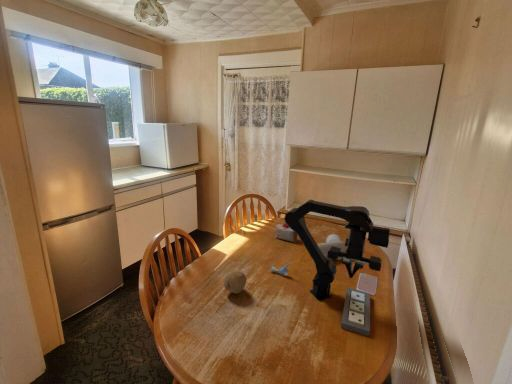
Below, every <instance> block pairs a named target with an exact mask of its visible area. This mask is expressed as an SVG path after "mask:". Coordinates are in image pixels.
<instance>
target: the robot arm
mask: <svg viewBox="0 0 512 384" xmlns="http://www.w3.org/2000/svg"><path fill="white" fill-rule="evenodd" d="M309 213H315V214H319V215H324V216H328V217H329V216H330V217H333V218H339V219H342V220H344V221H346V222H347V223H345V225H344V229H348V230H349V233H348V234H349V235H348V238H347V237H346V238H345V242H344V243H345V246H346V252H340V251H341V248H338V247H334V246H331V247H330V249H329V251H328V255H327V257H328V258H330V259H327V258H326V257H325V256H324V255H323V253H322V252H321V250H320V248H319V247H318V245H317V244H318V242H317V241H316V240H315V239H314V238H315V237H313V235H312V234H311V232H310V230H309V229H308V226H307V223H306V222H307V221H306V218H305V216H307V215H308V214H309ZM283 220H284V222H285V224H287V225H288V226H289V227H290V228H291V229H292V230H293V231H295V232H296V233H297V237H299V239H300V241H301V242H302V244H303V246H304V248H305V249H306V251H307V252H308V254H309V256H310V257H311V259H312V261H313V263H314V266H315V269H316V270H315V271H316V272H315V275H314V277H313V279H312V289H310V290H309V292H310V294H312V296H313V297H314V298H315V299H316V300H317V301H323V300H327V299H330V298H332V294H330V293H331V285H332V283H333V282H334V280H335V277H336V275H337V265H336V264H335V263H334V261H335V260H337V259H338V256H339V257H343V258H342V264H343V265H345V269H346V270H347V273H348V276H349V279H353V277H354V276H355V274H356V273H357V272H358V271H359V270H360V269H361V270H362V269H364V264H367V265H368V267H369V269H370V270H373V271H377V272H381V270H382V264H383V263H382V262H383V261H382V258H381V257H378V256H374V255H370V256H369V257H365V256H364V252H365V244H366V241H367V242H368V243H369V244H370V245H373V246H375V247H381V248H386V249H387V248H388V246H389V243H390V233H391V232H390V231H391V229H390V228H388V227H380V226H376V225H374V222H373V221H372V219H371V217H370V211H369V210H368V208H367V207H365V206H361V205H359V206H358V205H357V206H356V205H351V206H343V205H338V204H331V203H326V202H322V201H318V200H314V199H309V200H307V201H306V202H304V203H303V204H301V205H299V206H298V207H293V208H291V209H290V210H289V211H287V212H286V213H285V215H284V219H283ZM367 234H368V235H367ZM366 238H367V240H366ZM353 261H355V262H354V266H353Z"/></svg>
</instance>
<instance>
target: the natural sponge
mask: <svg viewBox="0 0 512 384" xmlns="http://www.w3.org/2000/svg"><path fill="white" fill-rule="evenodd" d="M246 284H247V276H246V275H245V273H244V272H242V271H241V270H237V269H236V270H235V269H232V270H231V271H229V272H228V273H227V274H226V276H225V278H224V281H223V286H224V289H225V290H227V291H228V292H229V291H230V292H231V293H233V294H236V295H237V294H240V293H241V292H243V290H245V286H246Z"/></svg>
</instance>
